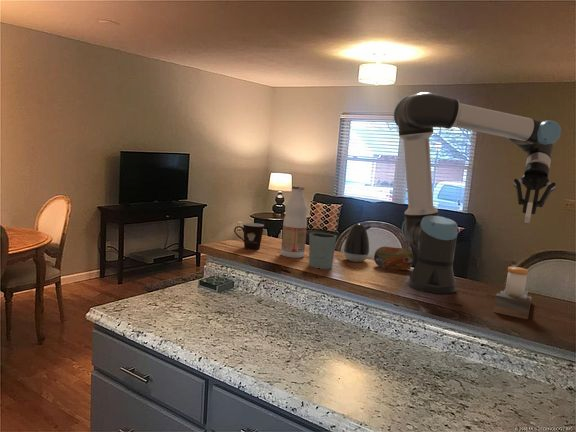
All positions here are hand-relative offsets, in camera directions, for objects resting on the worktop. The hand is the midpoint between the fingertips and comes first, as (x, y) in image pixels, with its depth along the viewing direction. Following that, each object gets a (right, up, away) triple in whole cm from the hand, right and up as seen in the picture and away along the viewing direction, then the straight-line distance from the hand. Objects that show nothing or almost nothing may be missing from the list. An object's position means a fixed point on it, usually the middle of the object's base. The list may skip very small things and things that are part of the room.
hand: (527, 219), depth 154 cm
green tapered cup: (-65, -18, +24) cm, 72 cm away
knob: (-11, -24, -13) cm, 29 cm away
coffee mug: (-93, -12, +47) cm, 105 cm away
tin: (-37, -19, +31) cm, 52 cm away
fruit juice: (-75, -15, +39) cm, 86 cm away
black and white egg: (-50, -17, +39) cm, 65 cm away
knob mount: (-9, -26, -9) cm, 29 cm away
